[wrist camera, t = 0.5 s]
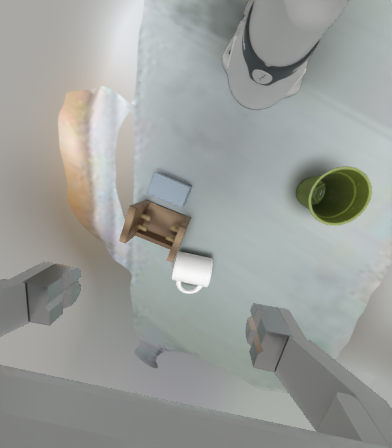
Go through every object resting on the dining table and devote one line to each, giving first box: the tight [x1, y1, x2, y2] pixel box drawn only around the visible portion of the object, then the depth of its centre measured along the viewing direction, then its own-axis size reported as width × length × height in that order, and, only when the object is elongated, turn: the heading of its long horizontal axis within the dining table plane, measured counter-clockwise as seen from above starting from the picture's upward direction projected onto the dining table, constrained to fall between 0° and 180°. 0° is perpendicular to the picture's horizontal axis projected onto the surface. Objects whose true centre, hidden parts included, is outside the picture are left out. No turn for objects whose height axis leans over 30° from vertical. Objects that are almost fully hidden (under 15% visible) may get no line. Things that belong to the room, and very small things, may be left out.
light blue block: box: [147, 172, 192, 208], centre depth 47 cm, size 6×10×5 cm, turn 68°
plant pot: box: [296, 167, 372, 225], centre depth 42 cm, size 12×12×11 cm
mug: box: [172, 251, 213, 294], centre depth 51 cm, size 12×10×8 cm
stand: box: [119, 200, 191, 262], centre depth 47 cm, size 9×14×11 cm, turn 68°
